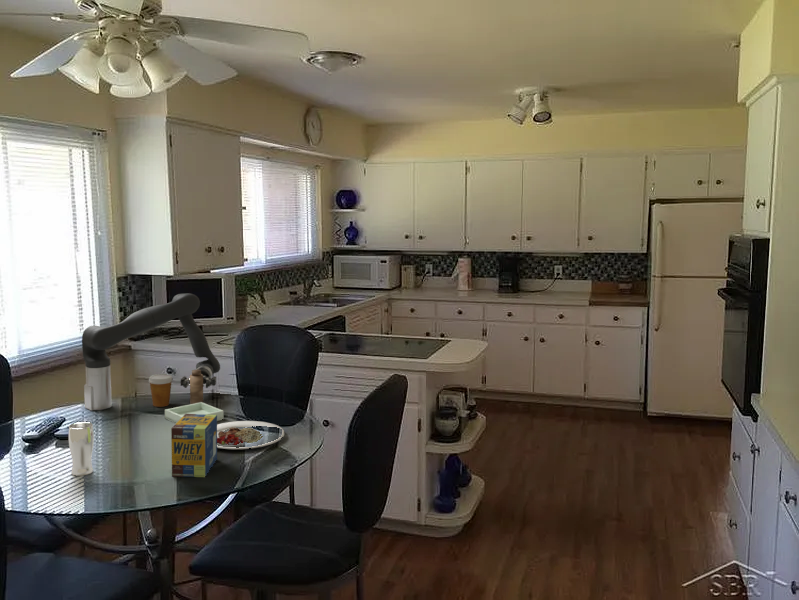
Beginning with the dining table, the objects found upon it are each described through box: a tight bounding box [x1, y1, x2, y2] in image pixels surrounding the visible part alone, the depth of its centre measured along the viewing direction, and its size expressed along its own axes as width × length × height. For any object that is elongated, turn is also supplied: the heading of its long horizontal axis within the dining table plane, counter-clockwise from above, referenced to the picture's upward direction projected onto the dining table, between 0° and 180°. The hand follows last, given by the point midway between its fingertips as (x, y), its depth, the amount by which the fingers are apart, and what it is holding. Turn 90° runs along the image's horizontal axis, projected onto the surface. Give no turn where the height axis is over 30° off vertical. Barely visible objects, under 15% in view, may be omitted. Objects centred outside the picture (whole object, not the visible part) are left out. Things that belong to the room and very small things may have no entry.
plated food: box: [217, 420, 285, 450], centre depth 245 cm, size 30×30×3 cm
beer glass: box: [68, 421, 95, 477], centre depth 209 cm, size 7×7×15 cm
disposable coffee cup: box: [148, 373, 174, 408], centre depth 282 cm, size 10×10×12 cm
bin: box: [164, 401, 224, 424], centre depth 265 cm, size 16×16×4 cm
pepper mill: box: [189, 369, 204, 405], centre depth 282 cm, size 5×5×15 cm
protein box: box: [170, 414, 218, 478], centre depth 215 cm, size 10×15×16 cm
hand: (196, 385), depth 280 cm, fingers open, 8 cm apart
